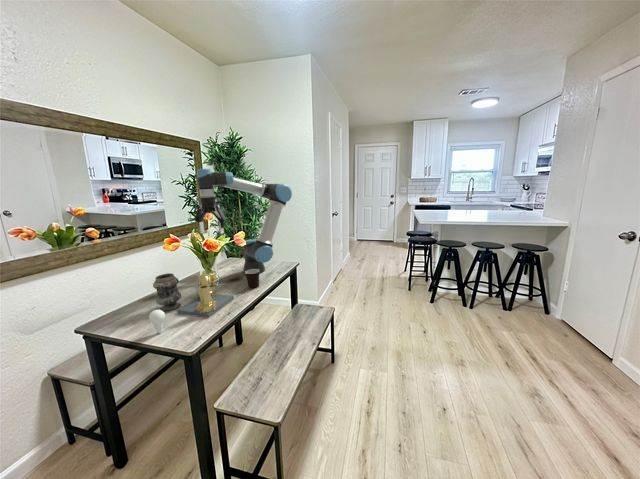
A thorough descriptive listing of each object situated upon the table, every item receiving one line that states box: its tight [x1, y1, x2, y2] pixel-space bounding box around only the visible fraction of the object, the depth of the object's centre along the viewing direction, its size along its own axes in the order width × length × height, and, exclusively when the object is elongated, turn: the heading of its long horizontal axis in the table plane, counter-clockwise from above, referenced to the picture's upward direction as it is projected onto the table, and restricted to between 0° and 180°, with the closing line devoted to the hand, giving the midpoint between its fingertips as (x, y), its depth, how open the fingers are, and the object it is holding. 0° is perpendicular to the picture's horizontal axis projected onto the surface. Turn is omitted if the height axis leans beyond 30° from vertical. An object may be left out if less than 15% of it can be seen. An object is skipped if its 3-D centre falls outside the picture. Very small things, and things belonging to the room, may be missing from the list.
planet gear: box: [197, 285, 217, 313], centre depth 137 cm, size 9×9×12 cm
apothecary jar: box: [152, 272, 182, 313], centre depth 144 cm, size 12×12×18 cm
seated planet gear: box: [196, 274, 216, 299], centre depth 152 cm, size 9×9×12 cm
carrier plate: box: [176, 293, 235, 319], centre depth 145 cm, size 21×19×9 cm
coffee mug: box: [244, 269, 260, 290], centre depth 170 cm, size 12×9×10 cm
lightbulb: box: [148, 309, 166, 334], centre depth 121 cm, size 6×6×11 cm
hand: (212, 233), depth 161 cm, fingers open, 13 cm apart
